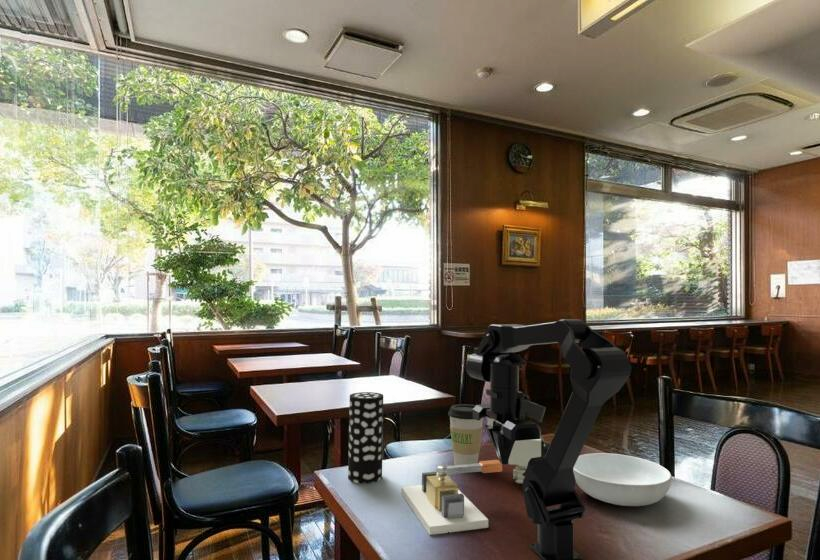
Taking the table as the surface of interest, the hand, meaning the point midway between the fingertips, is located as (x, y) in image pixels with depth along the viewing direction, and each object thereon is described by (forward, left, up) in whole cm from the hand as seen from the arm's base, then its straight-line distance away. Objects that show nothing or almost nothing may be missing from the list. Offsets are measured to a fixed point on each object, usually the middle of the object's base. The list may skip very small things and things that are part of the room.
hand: (503, 463), depth 99 cm
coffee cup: (+33, -5, -11) cm, 35 cm away
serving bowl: (+4, -30, -11) cm, 33 cm away
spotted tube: (+30, +23, -11) cm, 39 cm away
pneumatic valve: (+18, -14, -11) cm, 25 cm away
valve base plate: (+8, +11, -11) cm, 17 cm away
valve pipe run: (+7, +11, -9) cm, 16 cm away
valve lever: (+8, +4, -5) cm, 10 cm away
